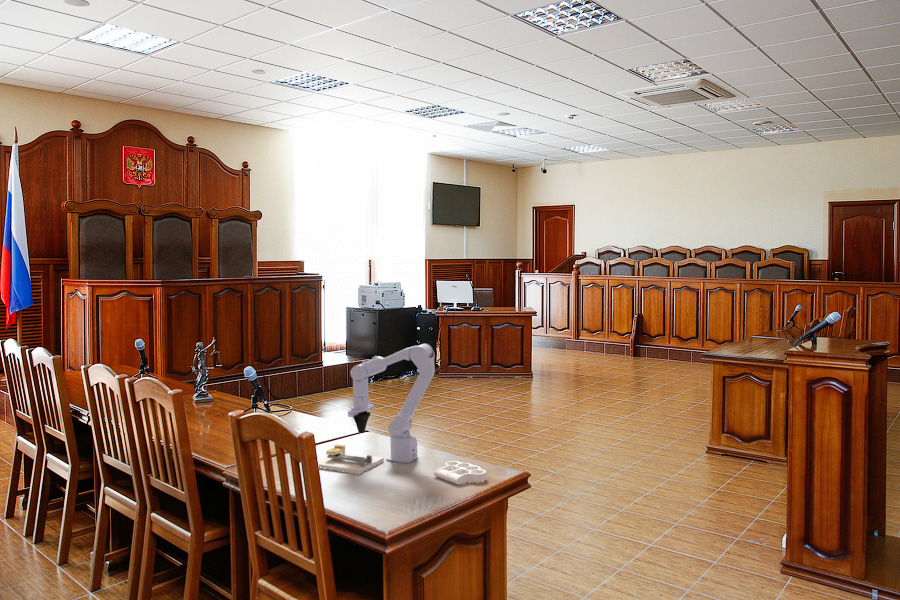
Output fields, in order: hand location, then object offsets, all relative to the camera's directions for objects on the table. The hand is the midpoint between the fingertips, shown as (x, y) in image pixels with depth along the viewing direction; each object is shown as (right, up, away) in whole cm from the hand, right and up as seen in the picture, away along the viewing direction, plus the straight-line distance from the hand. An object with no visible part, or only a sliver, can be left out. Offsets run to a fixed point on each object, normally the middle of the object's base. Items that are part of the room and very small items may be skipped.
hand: (361, 431), depth 247 cm
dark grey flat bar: (-3, -8, -11) cm, 14 cm away
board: (-4, -10, -9) cm, 14 cm away
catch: (-8, -8, -7) cm, 14 cm away
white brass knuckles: (+37, -11, -25) cm, 46 cm away
